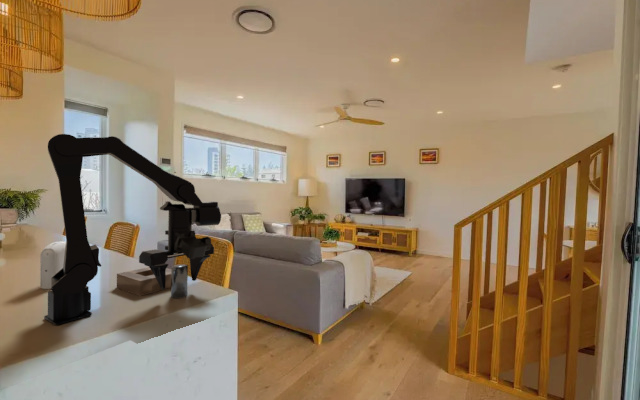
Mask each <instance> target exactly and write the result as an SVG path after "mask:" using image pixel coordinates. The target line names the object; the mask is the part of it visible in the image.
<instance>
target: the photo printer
mask: <svg viewBox="0 0 640 400" xmlns="http://www.w3.org/2000/svg"><path fill="white" fill-rule="evenodd" d="M65 247H66V241H65V240H64V241H62V240H61V241H53V242H51V243H49V244H47V245H46V246H45V247H44V248H43V249H42V250H41V252H40V256H39V257H40V263H39V264H40V269H39V270H40V276H39V277H40V278H39V279H40V283H39V284H40V288H41V289H42V290H52V289H51V278H52V277H53V276H54V275H55V274H56V273H58V272H59V271H60V270H61V269H62V268H63V264H64V254H65Z"/></svg>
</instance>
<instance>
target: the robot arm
mask: <svg viewBox="0 0 640 400" xmlns="http://www.w3.org/2000/svg"><path fill="white" fill-rule="evenodd" d="M47 153H48V155H49V158H50V161H51V164H52V166H53V169H54V171H55V174H56V177H57V179H58V186H59V194H60V201H61V210H62V217H63V226H64V233H65V240H66V241H65V242H66V247H65V254H64V264H63V268H62V269H61V270H60V271H59V272H58V273H56V274H55V275H54V276H53V277H52V278H51V289H50V290H49V291H47V314H46V315H44V316H43V318H44V319H45V320H46V321H48V322H50V323H51V324H53V325H55V326H59V325H63V324H66V323H69V322H72V321H75V320H79V319H83V318H87V317H89V316H92V315H93V313H92V312H91V308H92V300H91V299H92V293H91V292H90V291H89V286H87V285H88V283H90V281H92V280H94V278H95V277H96V276H97V275H98V271H99V267H102V264H101V263H100V259H99V258H100V257H99V256H100V254H99V253H100V248H99V247H98V245H97V244H92V245H90V242H89V239H88V232H87V223H86V215H85V207H84V201H83V191H82V182H81V176H82V175H81V174H82V167H83V158H85V157H86V158H87V157H94V156H95V157H97V156H98V157H99V156H105V155H107V156H108V155H109V156H110V157H112V158H114V159H115V160H117V161H119V162H120V163H122V164H123V165H125V166H127V167H128V168H130V169H131V170H133V171H135V172H137V174H139V175H141V176H142V177H143V178H146V179H147V180H149V181H151V182H152V183H153V184H154V185H155V186H156V187H157V188H158V189H159V190H160V191H161V192H162V193H163V194H164V195H165V196H166V197H167V198H168V199H170V200H172V201H173V202H178V203H172V202H171V201H168V200H167V201H165V203H164V204H163V205H161V206H160V207H159V210H160V211H165V212H167V211H168V222H167V223H168V224H167V225H168V226H167V227H168V230H165V231H164V233H165V235H166V236H167V239H168V240H167V245H164V250H165V251H164V250H161V249H160V250H159V249H150V250H142V251H141V253H140V254H139V257H138V263H139V264H143V265H144V266H146V267H150V269H151V270H152V272H153V273H154V275H155V277H156V279H157V281H158V283H159V285H160V287H161V289H163V290H166V289H165V284H166V268H168V266H169V263H167V262H168V259H172V258H179V257H183V256H186V258H187V259H189V267H190V276H191V281H197V278H198V275H199V272H200V270H201V268H202V265H203V263H204V262H205V260H207V259H208V258H210V257H211V255H214V254H215V247H214V245H213V244H212V239H211V237H209V236H203V237H200V238H197V236H196V232H195V230H192V227H193V226H192V225H193V223H195V225H196V226H197V227H205V226H206V227H207V226H208V227H209V226H219V225H220V224H221V220H222V213H221V210H220V207H219V202H218V201H206V202H202V200H201V199H200V197H199V196H198V195H197V193H196V189H195V186H194V184H193V183H192V182H191V181H188V180H187V179H184V178H183V177H180V176H178V175H175V174H172V173H171V172H168V171H166V170H164V169H163V168H161V166H158V165H157V164H156V163H154V162H153V161H151V160H149V159H148V158H146V157H145V156H144V155H142V154H141V153H139V152H138V151H136V150H135V149H133V148H132V147H130V146H129V145H127V144H126V143H125V142H123V141H122V139H120V138H119V137H117V136H106V137H105V136H103V137H88V136H87V137H76V136H73V135H71V134H68V133H67V134H66V133H59V134H55V135H54V136H53V137H51V138H50V139H49V141H48V143H47ZM179 202H180V203H179ZM182 203H183V204H182ZM185 205H187V206H192V207H186V206H185Z"/></svg>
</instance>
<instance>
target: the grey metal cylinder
mask: <svg viewBox="0 0 640 400" xmlns="http://www.w3.org/2000/svg"><path fill="white" fill-rule="evenodd" d="M188 268H189V266H188V265H187V264H174V265H172V266H171V268H170V269H171V288H170V297H171V298H172V299H181V298H185V297H187V296H188V280H189V279H188V277H189V276H188V274H189V273H188V271H189V270H188Z"/></svg>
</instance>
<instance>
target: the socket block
mask: <svg viewBox="0 0 640 400" xmlns="http://www.w3.org/2000/svg"><path fill="white" fill-rule="evenodd" d="M116 288H117V289H119V290H123V291H125V292H127V293H131V294H134V295H137V296H139V297H141V296H145V295H149V294H151V293H152V294H153V293H155V292H159V291H163V290H166V289H171V268H168V267H167V268H166V284H165V289H161V287H160V285H159V283H158V281H157V279H156V277H155V275H154V273H153V272H152V270H151V269H150V267H149V266H147V267H143V268H140V269H134V270H129V271H123V272H120V273H116Z"/></svg>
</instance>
